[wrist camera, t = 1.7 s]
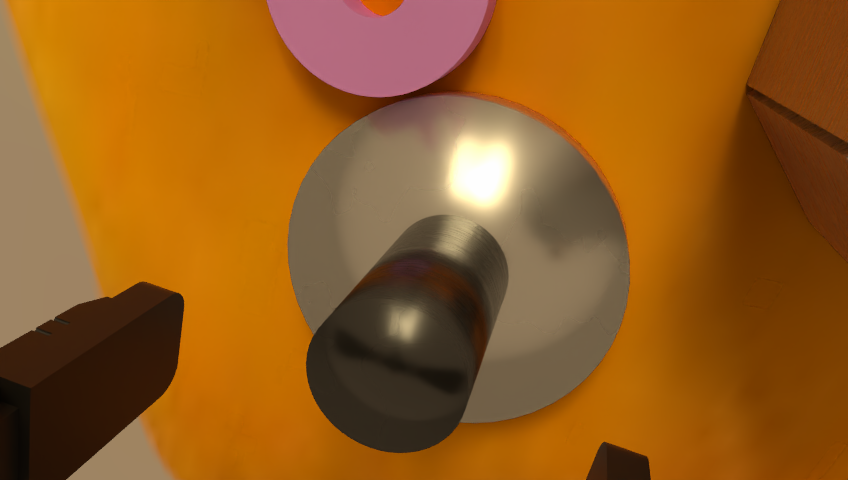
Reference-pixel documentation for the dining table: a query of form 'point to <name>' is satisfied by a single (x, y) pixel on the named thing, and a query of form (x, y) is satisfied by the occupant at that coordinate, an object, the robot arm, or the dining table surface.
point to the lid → (453, 268)
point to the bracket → (381, 41)
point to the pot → (808, 107)
